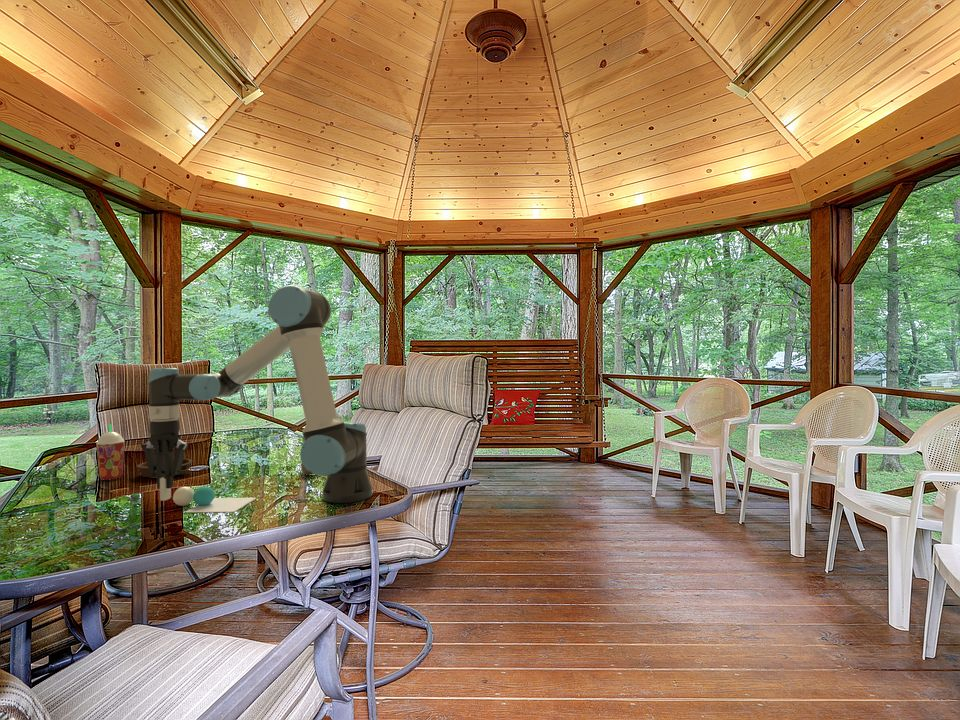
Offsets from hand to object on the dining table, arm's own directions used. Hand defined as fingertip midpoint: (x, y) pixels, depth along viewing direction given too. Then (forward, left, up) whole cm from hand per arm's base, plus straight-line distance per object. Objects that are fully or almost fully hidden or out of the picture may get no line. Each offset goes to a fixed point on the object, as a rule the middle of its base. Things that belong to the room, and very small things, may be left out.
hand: (165, 499), depth 146 cm
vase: (-30, -38, -2) cm, 48 cm away
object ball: (-11, 0, +1) cm, 12 cm away
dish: (+26, -40, -2) cm, 48 cm away
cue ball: (-5, 0, +1) cm, 6 cm away
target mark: (-17, 0, -2) cm, 17 cm away
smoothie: (+42, -34, -2) cm, 54 cm away
